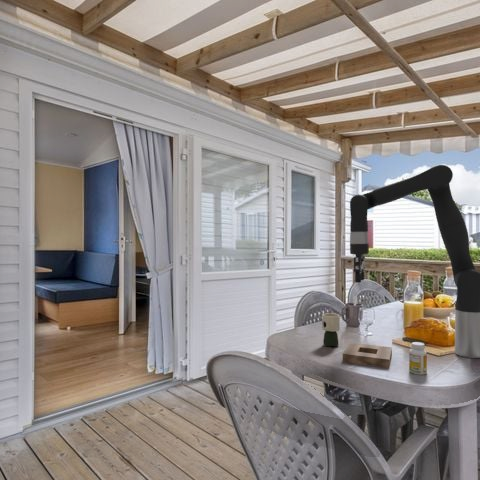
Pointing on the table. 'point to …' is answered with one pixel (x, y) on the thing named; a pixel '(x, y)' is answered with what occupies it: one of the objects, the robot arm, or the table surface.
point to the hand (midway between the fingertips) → (359, 281)
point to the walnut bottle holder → (368, 355)
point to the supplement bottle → (418, 359)
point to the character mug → (330, 328)
